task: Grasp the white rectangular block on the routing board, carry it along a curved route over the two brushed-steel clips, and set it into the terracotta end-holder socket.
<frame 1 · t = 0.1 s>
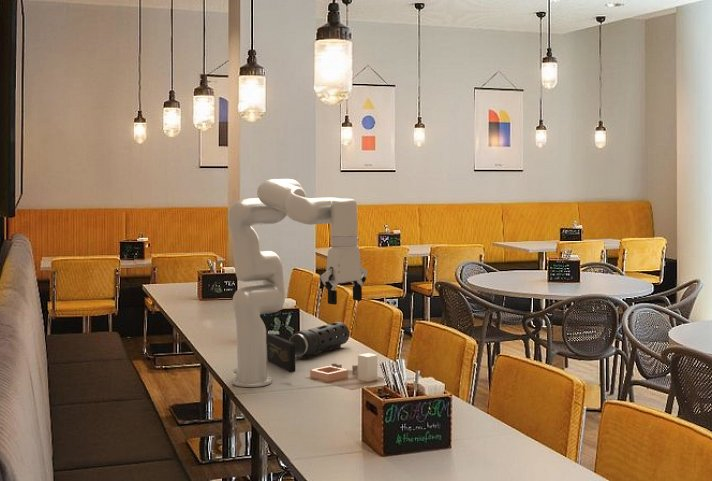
hand: (344, 302, 254), 31 cm above the table, tool pointing down, fingers open, 9 cm apart
nameplate: (280, 367, 314), on the table
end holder: (329, 380, 292), resting on routing board
muzzle brake: (319, 354, 335), on the table
white rectangular block: (367, 379, 289), point 1 cm above the table, touching routing board
routing board: (348, 381, 290), on the table
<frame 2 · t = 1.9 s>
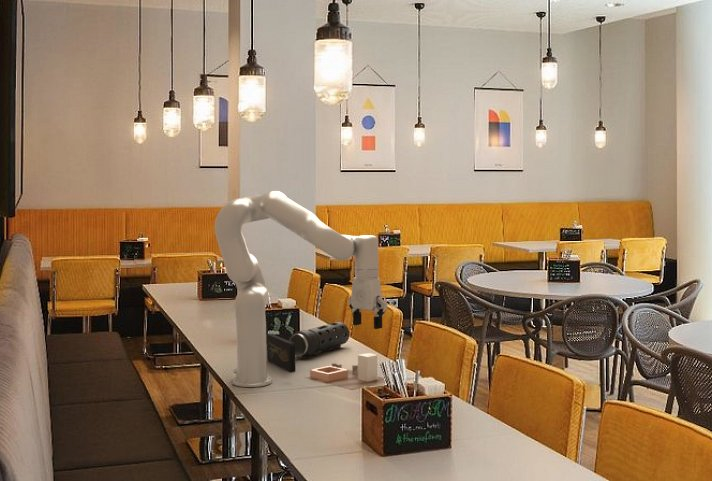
hand: (367, 326, 287), 18 cm above the table, tool pointing down, fingers open, 9 cm apart
nothing on the table moved.
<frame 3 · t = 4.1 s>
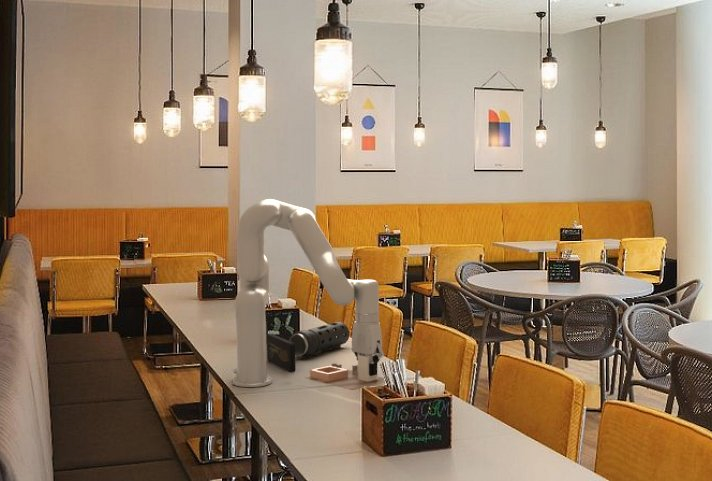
hand: (367, 373, 289), 3 cm above the table, tool pointing down, fingers closed on white rectangular block, 4 cm apart
white rectangular block: (367, 379, 289), point 1 cm above the table, touching gripper, routing board
everything else where it was.
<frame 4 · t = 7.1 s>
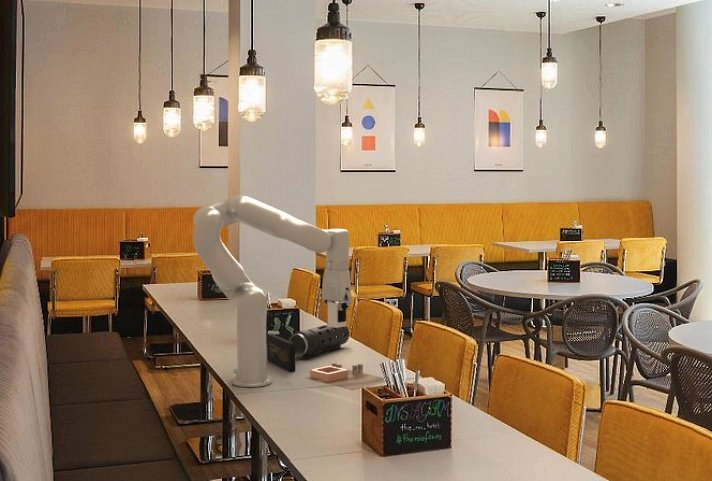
hand: (336, 320, 297), 19 cm above the table, tool pointing down, fingers closed on white rectangular block, 4 cm apart
white rectangular block: (336, 326, 297), point 17 cm above the table, touching gripper
everything else where it was.
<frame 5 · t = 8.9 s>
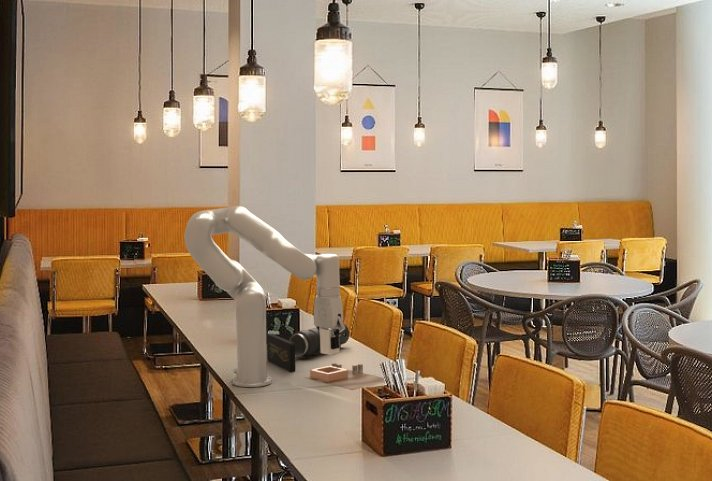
hand: (329, 347, 291), 11 cm above the table, tool pointing down, fingers closed on white rectangular block, 4 cm apart
white rectangular block: (330, 352, 291), point 9 cm above the table, touching gripper
everything else where it was.
when the fingers open (4 cm above the table, at t = 10.4 s): white rectangular block drops 1 cm, resting on routing board.
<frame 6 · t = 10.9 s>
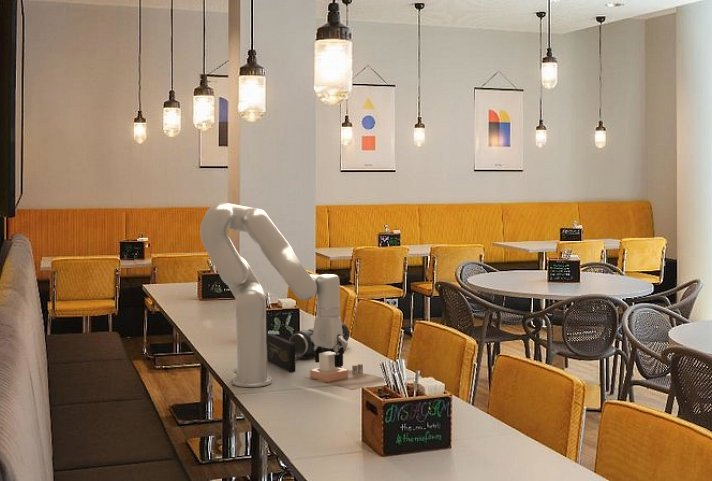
hand: (329, 364, 292), 5 cm above the table, tool pointing down, fingers open, 9 cm apart
white rectangular block: (328, 377, 292), point 1 cm above the table, touching routing board
everything else where it was.
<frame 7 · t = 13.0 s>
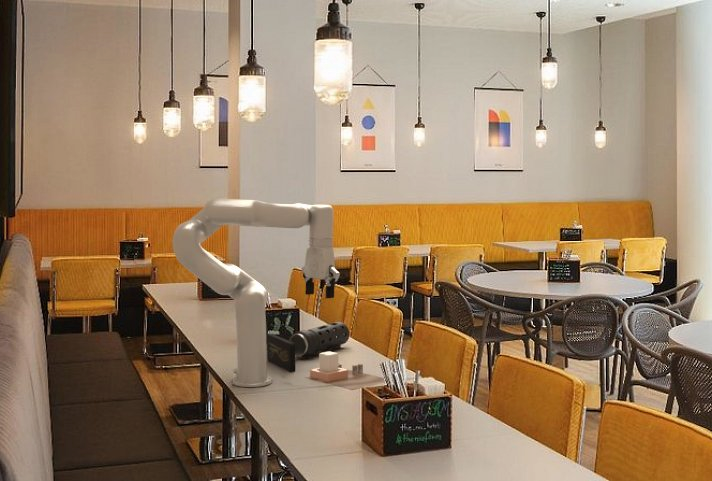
hand: (319, 296, 287), 28 cm above the table, tool pointing down, fingers open, 9 cm apart
nothing on the table moved.
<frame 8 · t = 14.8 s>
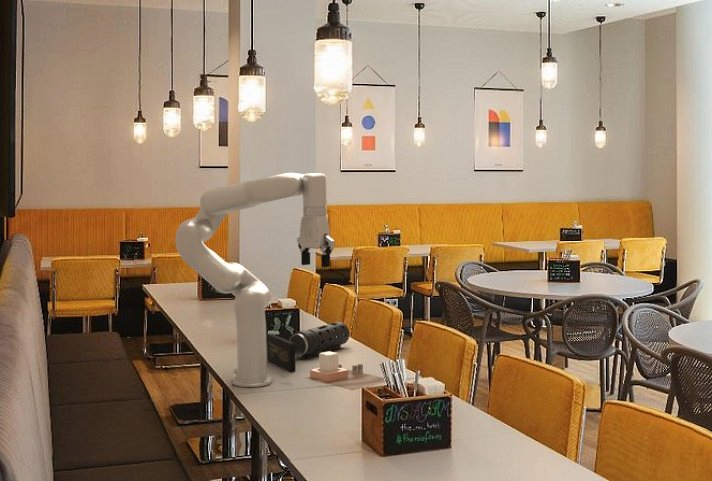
hand: (315, 265, 284), 38 cm above the table, tool pointing down, fingers open, 9 cm apart
nothing on the table moved.
at the end: white rectangular block 0.1 cm off-centre on the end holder, point 1.0 cm above the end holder's base; white rectangular block tilted 0°; the gripper is holding nothing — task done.
